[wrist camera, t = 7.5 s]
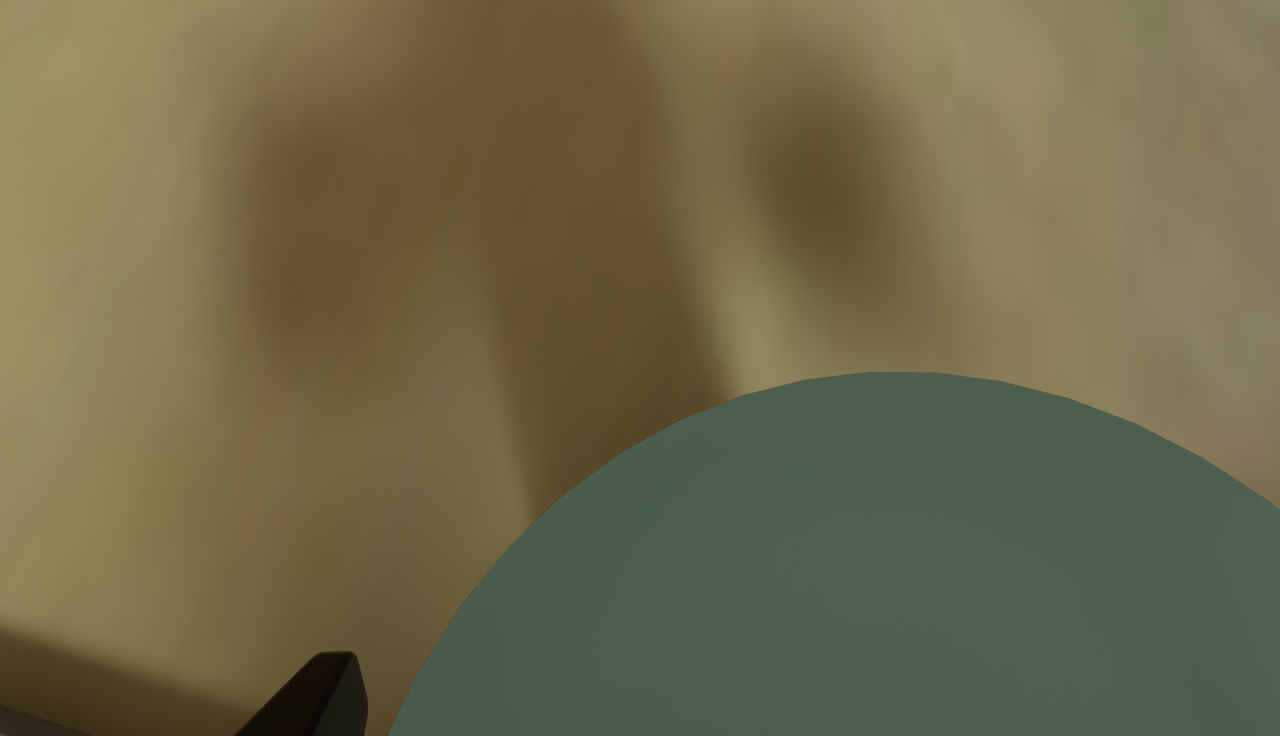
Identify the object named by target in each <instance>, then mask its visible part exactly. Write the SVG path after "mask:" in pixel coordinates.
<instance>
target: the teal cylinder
mask: <svg viewBox="0 0 1280 736" xmlns="http://www.w3.org/2000/svg"><path fill="white" fill-rule="evenodd" d="M387 736H1280V510H1279V509H1278V508H1277V507H1275V506H1274V505H1273V504H1272V503H1270V502H1269V501H1268V500H1267V499H1265V498H1264V497H1262V496H1261V495H1259V494H1258V493H1256V492H1254V491H1253V490H1251V489H1250V488H1248V487H1247V486H1245V485H1244V484H1242V483H1241V482H1239V481H1237V480H1236V479H1234V478H1233V477H1231V476H1230V475H1228V474H1227V473H1225V472H1224V471H1222V470H1221V469H1219V468H1217V467H1216V466H1214V465H1213V464H1211V463H1210V462H1208V461H1207V460H1205V459H1204V458H1202V457H1200V456H1198V455H1196V454H1194V453H1192V452H1190V451H1188V450H1186V449H1184V448H1182V447H1181V446H1179V445H1177V444H1175V443H1173V442H1171V441H1169V440H1167V439H1165V438H1163V437H1161V436H1159V435H1157V434H1155V433H1153V432H1151V431H1149V430H1147V429H1145V428H1143V427H1141V426H1139V425H1137V424H1135V423H1133V422H1130V421H1127V420H1125V419H1122V418H1119V417H1117V416H1114V415H1112V414H1109V413H1106V412H1104V411H1101V410H1098V409H1096V408H1093V407H1090V406H1088V405H1085V404H1083V403H1080V402H1077V401H1075V400H1072V399H1069V398H1065V397H1062V396H1058V395H1054V394H1050V393H1046V392H1042V391H1038V390H1034V389H1030V388H1026V387H1022V386H1018V385H1014V384H1011V383H1007V382H1003V381H995V380H988V379H980V378H973V377H965V376H957V375H950V374H942V373H917V372H866V373H858V374H849V375H841V376H832V377H824V378H816V379H807V380H802V381H798V382H794V383H790V384H786V385H782V386H778V387H774V388H770V389H766V390H762V391H758V392H754V393H750V394H746V395H742V396H739V397H737V398H734V399H732V400H729V401H727V402H724V403H722V404H719V405H717V406H714V407H712V408H709V409H707V410H704V411H701V412H699V413H696V414H694V415H691V416H689V417H686V418H684V419H681V420H679V421H677V422H675V423H673V424H672V425H670V426H668V427H666V428H664V429H663V430H661V431H659V432H657V433H655V434H654V435H652V436H650V437H648V438H647V439H645V440H643V441H641V442H639V443H638V444H636V445H634V446H632V447H630V448H629V449H627V450H625V451H623V452H621V453H620V454H618V455H617V456H615V457H614V458H613V459H611V460H610V461H609V462H607V463H606V464H605V465H603V466H602V467H601V468H599V469H598V470H597V471H595V472H594V473H592V474H591V475H590V476H588V477H587V478H586V479H584V480H583V481H582V482H580V483H579V484H578V485H576V486H575V487H574V488H572V489H571V490H569V491H568V492H567V493H565V494H564V495H563V496H562V497H561V498H559V499H558V500H557V501H556V502H555V503H554V504H553V505H552V506H551V507H550V508H549V509H548V510H547V511H546V512H545V513H544V514H543V515H542V516H541V517H540V518H539V519H538V520H537V521H535V522H534V523H533V524H532V525H531V526H530V527H529V528H528V529H527V530H526V531H525V532H524V533H523V534H522V535H521V536H520V537H519V538H518V539H517V540H516V541H515V542H514V543H513V544H511V545H510V546H509V547H508V549H507V550H506V551H505V552H504V554H503V555H502V556H501V557H500V558H499V560H498V561H497V562H496V563H495V565H494V566H493V567H492V568H491V570H490V571H489V572H488V573H487V574H486V576H485V577H484V578H483V579H482V581H481V582H480V583H479V584H478V586H477V587H476V588H475V589H474V590H473V592H472V593H471V594H470V595H469V597H468V598H467V599H466V600H465V601H464V603H463V604H462V605H461V606H460V608H459V609H458V611H457V612H456V614H455V615H454V617H453V619H452V620H451V622H450V623H449V625H448V627H447V628H446V630H445V631H444V633H443V634H442V636H441V638H440V639H439V641H438V642H437V644H436V646H435V647H434V649H433V650H432V652H431V653H430V655H429V657H428V658H427V660H426V661H425V663H424V665H423V666H422V668H421V669H420V671H419V673H418V674H417V676H416V677H415V679H414V681H413V683H412V685H411V687H410V689H409V691H408V694H407V696H406V698H405V700H404V702H403V704H402V706H401V708H400V710H399V712H398V714H397V717H396V719H395V721H394V723H393V725H392V727H391V729H390V731H389V733H388V735H387Z"/></svg>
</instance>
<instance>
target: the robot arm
mask: <svg viewBox="0 0 1280 736" xmlns="http://www.w3.org/2000/svg"><path fill="white" fill-rule="evenodd" d="M367 715H368V699H367V694H366V690H365V686H364V682H363V678H362V674H361V670H360V666H359V662H358V659H357V656H356V655H355V654H354V653H353V652H350V651H334V652H321V653H318V654H317V655H315V656H314V657H312V658H311V659H310V660H309V661H308V662H307V663H306V664H305V665H304V666H303V667H302V668H301V669H300V670H299V671H298V672H297V673H296V674H295V675H294V676H293V677H292V678H291V679H290V680H289V681H288V682H287V683H286V684H285V685H284V686H283V687H282V688H281V689H280V690H279V691H278V692H277V693H276V694H275V695H274V696H273V697H272V698H271V699H270V700H269V701H268V702H267V703H266V704H265V705H264V706H263V707H262V708H261V709H260V710H259V711H258V712H257V713H256V714H255V715H254V716H253V717H252V718H251V719H250V720H249V721H248V722H247V723H246V724H245V725H244V726H243V727H242V728H241V729H240V730H238V731H237V732H236V733H235V734H234V735H233V736H364V732H365V727H366V722H367Z"/></svg>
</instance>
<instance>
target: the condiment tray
mask: <svg viewBox="0 0 1280 736" xmlns="http://www.w3.org/2000/svg"><path fill="white" fill-rule="evenodd" d="M0 736H88V735H85V734H82V733H79V732H76V731H73V730H70V729H67V728H64V727H61V726H58V725H55V724H52V723H49V722H46V721H43V720H40V719H38V718H35V717H32V716H29V715H26V714H23V713H20V712H17V711H14V710H11V709H8V708H5V707H2V706H0Z"/></svg>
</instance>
